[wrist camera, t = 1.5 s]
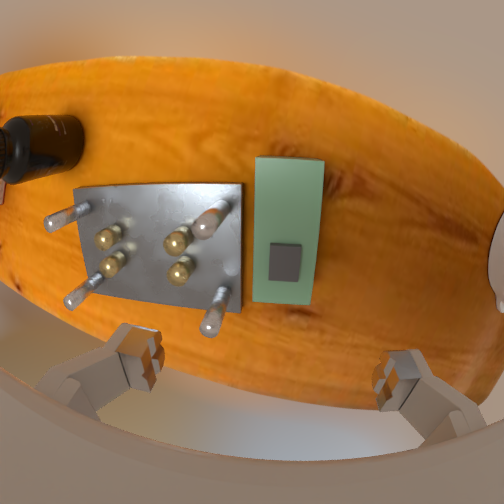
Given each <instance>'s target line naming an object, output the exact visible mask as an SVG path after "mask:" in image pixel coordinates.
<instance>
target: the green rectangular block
mask: <svg viewBox="0 0 504 504" xmlns="http://www.w3.org/2000/svg"><path fill="white" fill-rule="evenodd" d="M323 178H324V161H322V160H320V159H316V158H302V157H285V156H258V157H256V158H255V206H254V255H253V302H266V303H281V304H297V305H310V302H311V295H312V288H313V280H314V273H315V264H316V256H317V247H318V238H319V228H320V217H321V205H322V193H323Z"/></svg>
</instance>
